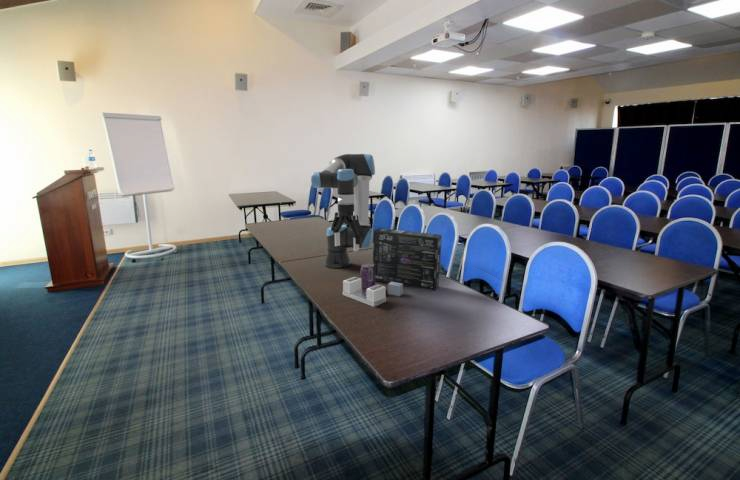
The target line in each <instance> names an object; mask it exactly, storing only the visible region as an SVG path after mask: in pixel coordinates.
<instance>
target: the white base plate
mask: <svg viewBox="0 0 740 480" xmlns="http://www.w3.org/2000/svg"><path fill="white" fill-rule="evenodd" d="M342 296H345V297H347V298H350V299H353V300H355V301H357V302H360V303H364V304H365V305H369V306H370V307H373V308H375V307H377V306H379V305H382V304H383V303H386V302H387V297H385V298H383V299H380V300H378V301H376V302H372V301H369V300H366V290H364V289H360V290H357V291H355V292H352V293H348V292H345V291H343V290H342Z"/></svg>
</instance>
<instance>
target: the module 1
mask: <svg viewBox="0 0 740 480" xmlns="http://www.w3.org/2000/svg"><path fill="white" fill-rule="evenodd" d="M342 288H343V289H342V292H343V291H345V292H348V293H352V292H355V291H357V290H360V289H362V288H361V277H358V276H353V277H350V278H349V277H348V278H347V279H344V280H342Z"/></svg>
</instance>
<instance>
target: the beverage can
mask: <svg viewBox="0 0 740 480" xmlns="http://www.w3.org/2000/svg"><path fill="white" fill-rule="evenodd" d="M360 279H361V288H362V289H364V290H366V289H367V288H370V287H372V286H375V285H376V281H375V267H374V264H373V263H369V262H366V263H362V264H361V267H360Z"/></svg>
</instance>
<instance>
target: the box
mask: <svg viewBox="0 0 740 480" xmlns="http://www.w3.org/2000/svg"><path fill="white" fill-rule="evenodd" d="M372 245H373V246H372V247H373V248H372V249H373V250H372V264H374V267H375V282H382V283H383V282H384V283H387V284H389V283H390V282H397V283H402V284H403V287H404V286H405V287H410V288H417V289H423V290H428V291H435V290H436V289H438V287H439V283H440V282H439V281H440V271H441V270H440V268H441V267H440V266H441V255H442V254H441V251H442V234H435V233H427V232H419V231H408V230H403V229H402V230H400V229H390V228H376V229H375V230H374V229H373V238H372Z"/></svg>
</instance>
